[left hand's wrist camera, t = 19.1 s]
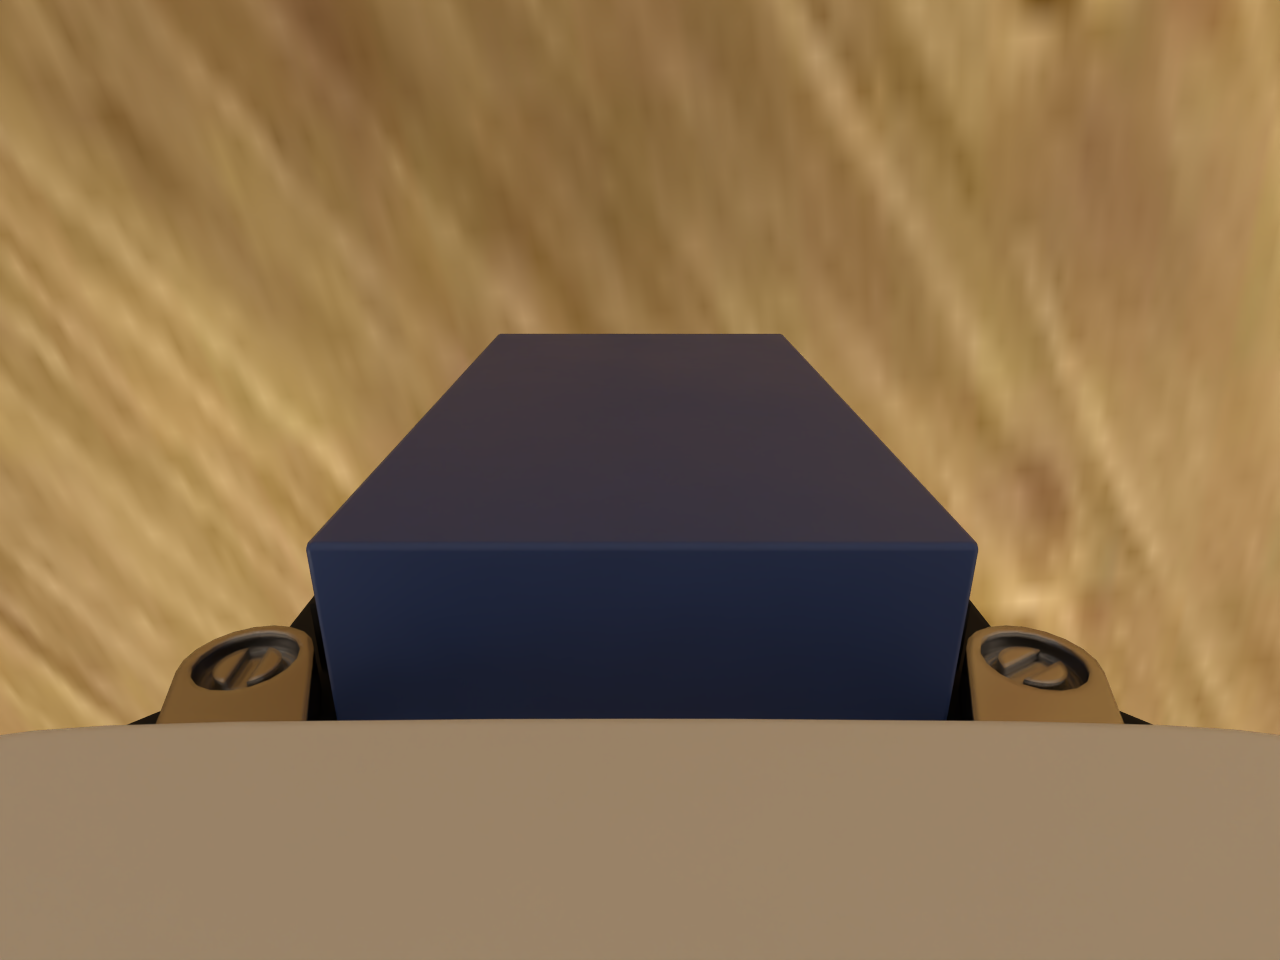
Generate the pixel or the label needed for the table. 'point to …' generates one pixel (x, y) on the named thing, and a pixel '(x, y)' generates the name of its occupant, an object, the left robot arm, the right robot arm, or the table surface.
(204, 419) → the table surface
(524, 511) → the block
